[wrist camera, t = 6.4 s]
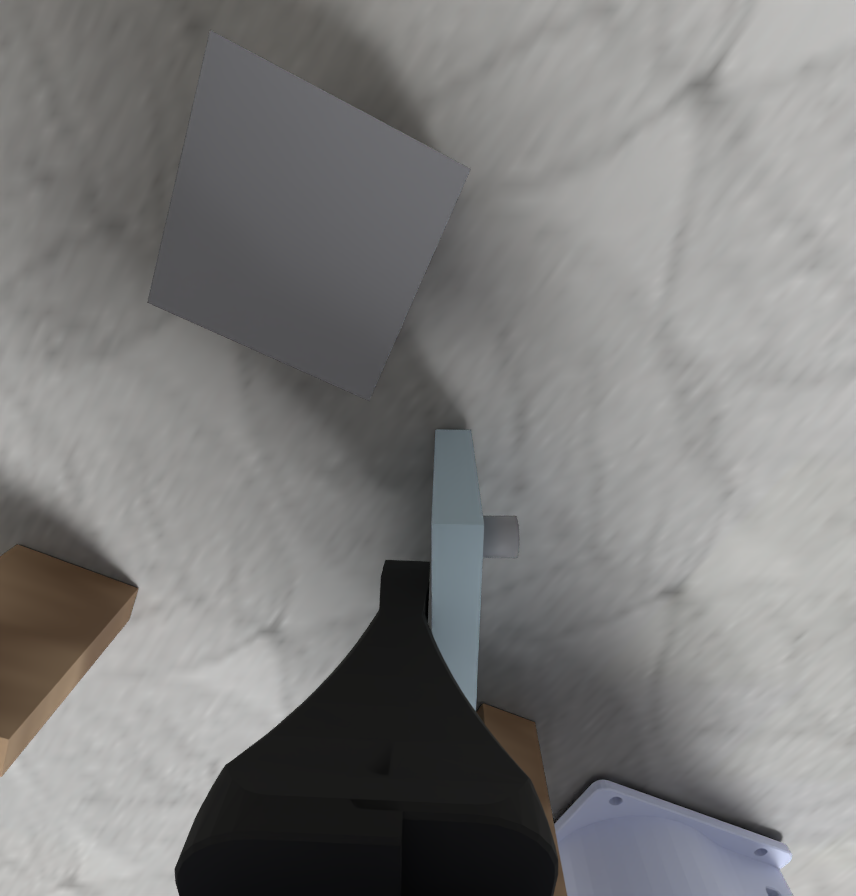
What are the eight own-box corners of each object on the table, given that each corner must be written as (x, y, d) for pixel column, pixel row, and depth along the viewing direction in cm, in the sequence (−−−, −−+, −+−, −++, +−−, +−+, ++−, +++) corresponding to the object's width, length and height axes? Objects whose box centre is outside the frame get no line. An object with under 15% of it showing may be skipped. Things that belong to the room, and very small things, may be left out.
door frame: (534, 722, 19) (568, 900, 14) (503, 762, 20) (523, 943, 15) (19, 532, 16) (-174, 668, 11) (9, 588, 17) (-173, 737, 12)
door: (488, 732, 19) (503, 892, 14) (435, 731, 19) (432, 891, 14) (506, 429, 14) (537, 525, 10) (435, 429, 14) (431, 524, 10)
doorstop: (460, 192, 12) (471, 169, 7) (394, 343, 14) (369, 400, 9) (303, 110, 11) (209, 29, 7) (252, 277, 13) (147, 302, 8)
